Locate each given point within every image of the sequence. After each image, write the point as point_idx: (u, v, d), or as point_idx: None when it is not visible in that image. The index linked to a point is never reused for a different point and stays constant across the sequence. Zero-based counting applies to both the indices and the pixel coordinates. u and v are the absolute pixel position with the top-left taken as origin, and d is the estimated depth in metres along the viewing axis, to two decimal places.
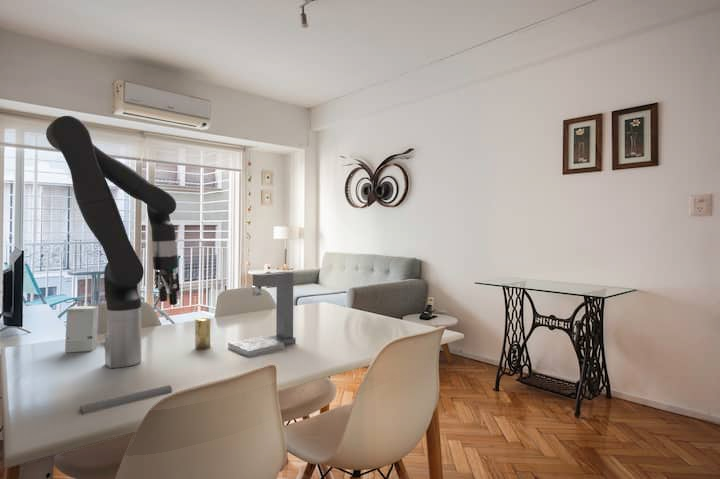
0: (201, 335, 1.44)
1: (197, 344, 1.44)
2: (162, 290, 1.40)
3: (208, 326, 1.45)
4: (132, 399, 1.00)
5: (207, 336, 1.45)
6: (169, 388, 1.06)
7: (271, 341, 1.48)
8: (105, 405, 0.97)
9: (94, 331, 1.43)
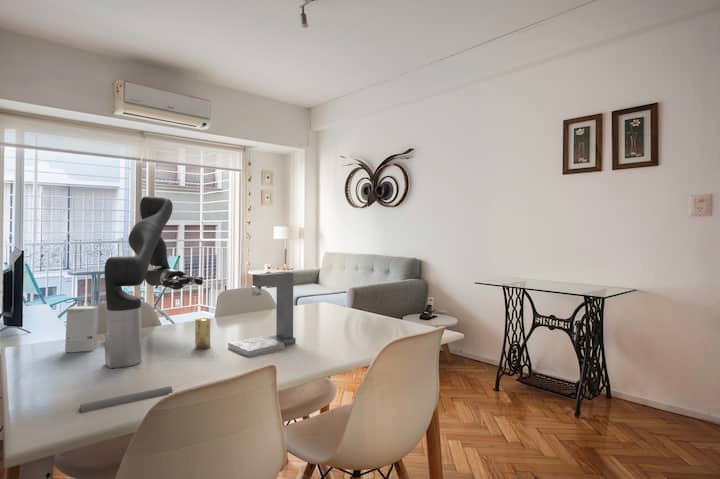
0: (201, 335, 1.44)
1: (197, 344, 1.44)
2: None
3: (208, 326, 1.45)
4: (131, 399, 1.00)
5: (207, 336, 1.45)
6: (169, 389, 1.06)
7: (271, 341, 1.48)
8: (104, 404, 0.97)
9: (94, 331, 1.43)
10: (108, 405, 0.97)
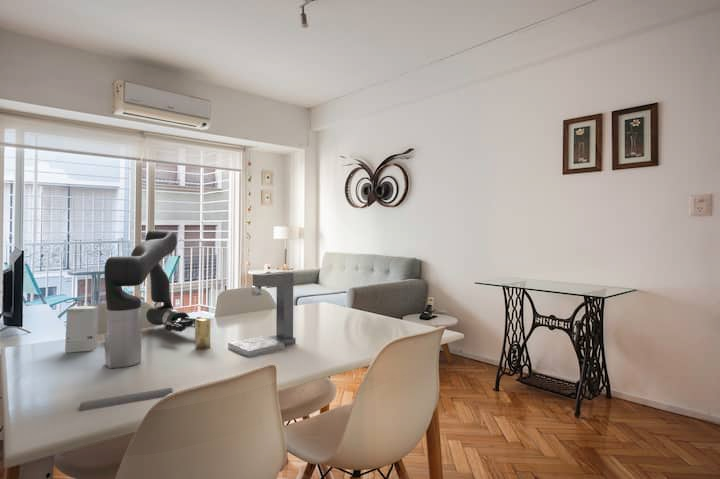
0: (201, 335, 1.44)
1: (197, 344, 1.44)
2: None
3: (208, 326, 1.45)
4: (130, 400, 1.00)
5: (207, 336, 1.45)
6: (169, 391, 1.05)
7: (271, 341, 1.48)
8: (103, 404, 0.97)
9: (94, 331, 1.43)
10: (107, 404, 0.98)
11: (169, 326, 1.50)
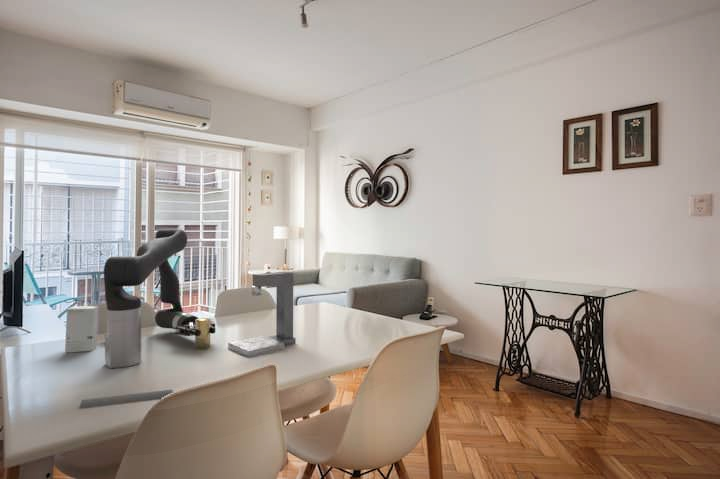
0: (201, 335, 1.44)
1: (197, 344, 1.44)
2: None
3: (208, 326, 1.45)
4: (129, 400, 1.00)
5: (207, 336, 1.45)
6: (169, 393, 1.03)
7: (271, 341, 1.48)
8: (102, 402, 0.98)
9: (94, 331, 1.43)
10: (106, 403, 0.98)
11: (186, 330, 1.44)
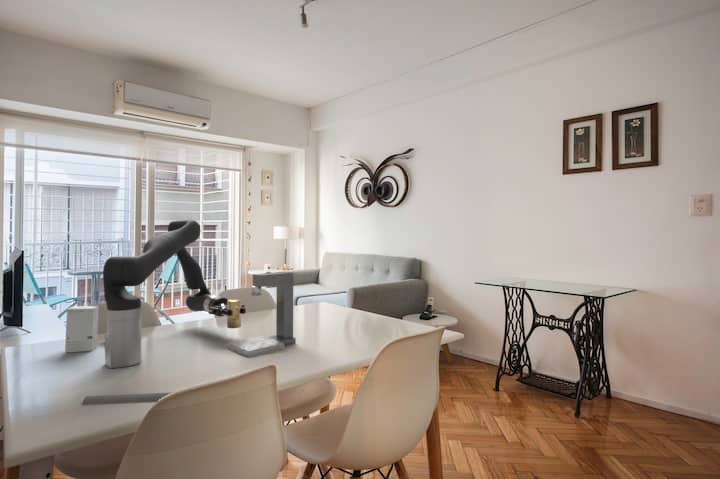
0: (233, 315, 1.55)
1: (229, 323, 1.55)
2: None
3: (239, 306, 1.56)
4: (127, 400, 1.00)
5: (238, 316, 1.56)
6: None
7: (271, 341, 1.48)
8: (102, 401, 0.99)
9: (94, 331, 1.43)
10: (106, 402, 0.99)
11: (219, 310, 1.55)
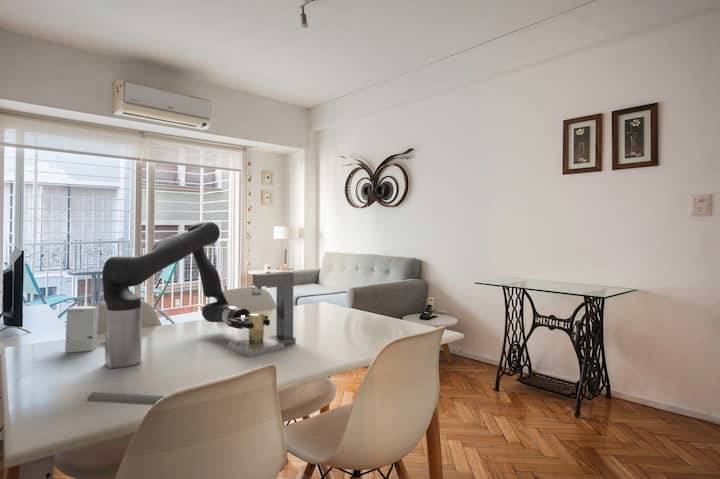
0: (255, 330, 1.43)
1: (251, 339, 1.43)
2: None
3: (262, 321, 1.45)
4: (126, 400, 1.00)
5: (261, 332, 1.44)
6: None
7: (271, 341, 1.48)
8: (104, 398, 1.00)
9: (94, 331, 1.43)
10: (107, 400, 1.00)
11: (237, 323, 1.43)
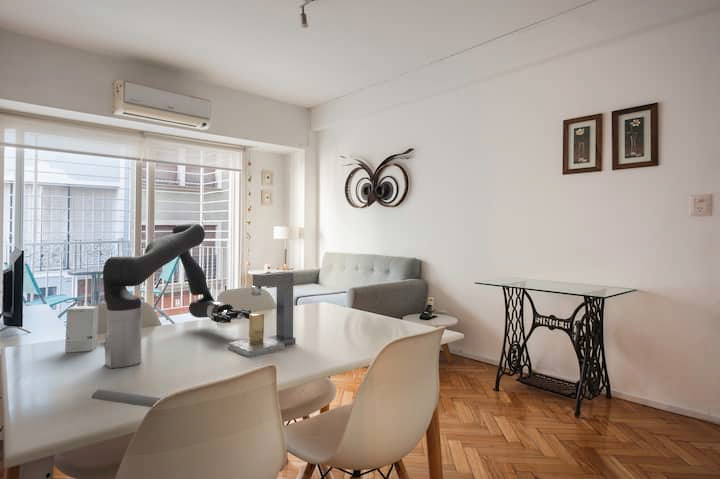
0: (256, 330, 1.43)
1: (251, 339, 1.44)
2: None
3: (262, 321, 1.45)
4: (125, 400, 1.00)
5: (261, 331, 1.44)
6: None
7: (271, 341, 1.48)
8: (106, 396, 1.01)
9: (94, 331, 1.43)
10: (108, 398, 1.01)
11: (217, 317, 1.52)
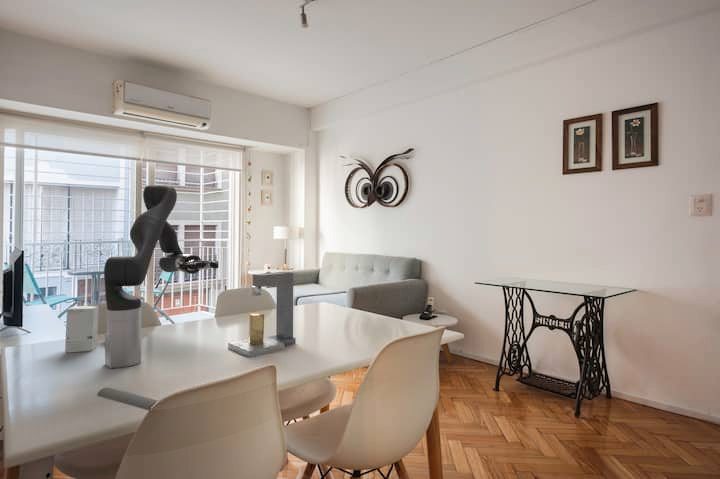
0: (256, 330, 1.43)
1: (252, 339, 1.43)
2: None
3: (263, 321, 1.45)
4: (124, 400, 1.00)
5: (261, 331, 1.45)
6: (150, 404, 0.97)
7: (271, 341, 1.48)
8: (109, 395, 1.02)
9: (94, 331, 1.43)
10: (110, 397, 1.02)
11: (183, 265, 1.54)
